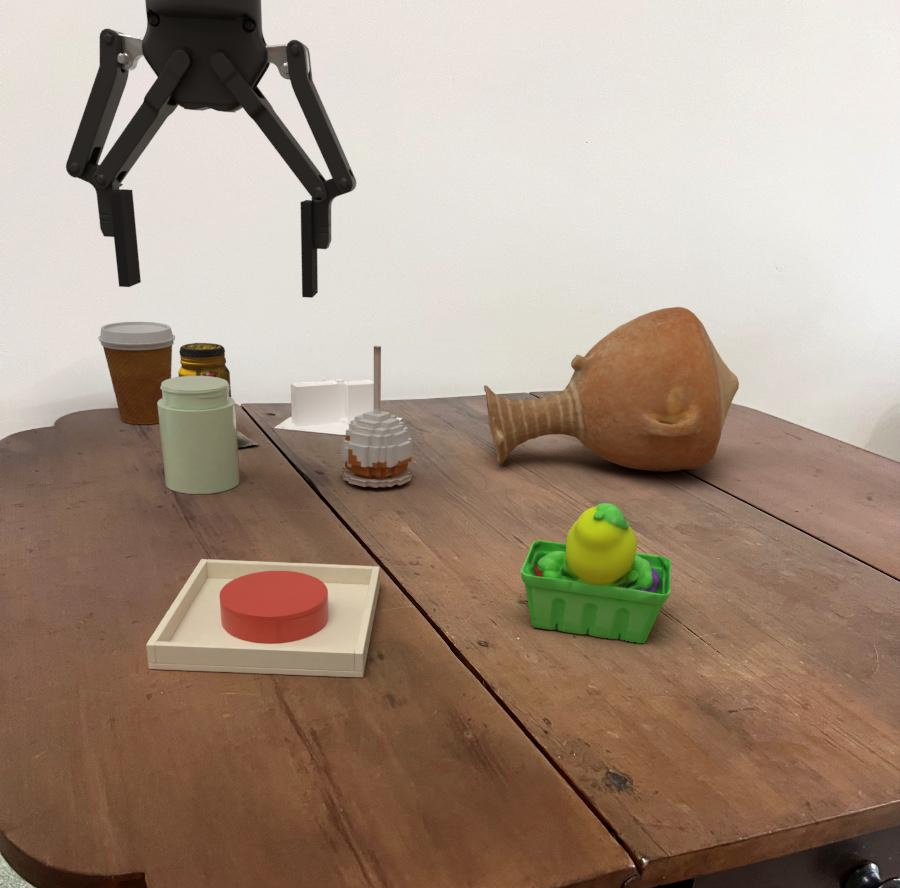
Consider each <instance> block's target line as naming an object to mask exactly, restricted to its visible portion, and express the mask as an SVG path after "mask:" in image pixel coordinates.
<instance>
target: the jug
mask: <svg viewBox="0 0 900 888" xmlns="http://www.w3.org/2000/svg"><path fill="white" fill-rule="evenodd" d="M570 366H571V368H572V369H573V370H574V371H573V373H572V375H571V376H570V377H571V378H570V380H569V382H568V383H567V385H566V386H565V388H564V389H563V390H561V391H559V392H557V393H556V394H552V395H547V396H544V397H540V398H533V399H516V398H506V397H503V396H501V395H498V394H496V393H495V392H494V391H493V390H492V389H490V387H489V386H488V385H485V384H484V385H483V390H484V393H485V400H486V408H487V424H488V426H489V430H490V434H491V437H492V440H493V445H494V448H495V452H496V454H497V458H496V459H497V463H498V464H499V466H502V465H503V464H504V462H506V461H505V460H506V459H507V458H508V456H509V455H510V454H511V453H512V452H513V451H514V450H515V449H516V448H518V446H520V445H521V444H524V443H526V442H527V441H529V440H533V439H537V438H539V437H543V436H549V435H565V436H569V437H574V438H576V439H577V440H578V441H579V442H580V443H581V444H582V446H584V447H585V448H586V449H588V450H589V451H590V452H592V453H594V454H595V455H597V456H598V457H599V458H601V459H603V460H605V461H607V462H610V463H613V464H615V465H618V466H621V467H624V468H628V469H633V470H639V471H640V470H641V471H649V472H662V473H663V472H664V473H667V472H668V473H669V472H675V471H676V472H677V471H683V470H695V469H698V468H699V467H700V468H701V467H702V466H705V465H708V464H709V463H710V462H711V461H713V459H714V457H715V455H716V453H717V451H718V447H719V444H720V440H721V436H722V432H723V429H724V425H725V421H726V419H727V416H728V413H729V410H730V408H731V406H732V403H733V400H734V397H735V396H736V395H737V392H738V390H739V386H740V383H739V379H738V376H737V375H736V374H735V373H734V371H732V370H731V369H730V368H729V367H728V365H727V364H726V363H725V362H724V360H723V359H722V357H721V356H720V354H719V352H718V351H717V349H716V347H715V345H714V343H713V341H712V340H711V338H710V335H709V333H708V331H707V330H706V327H705V326H704V324H703V322H702V321H701V320H700V318H699V317H698V316H697V315H696V313H694V312H693V311H691V310H690V309H688V308H686V307H682V306H674V307H665V308H660V309H656V310H653V311H649V312H647V313H645V314H644V313H643V314H642V315H639V316H637V317H635V318H633V319H631V320H629V321H627V322H626V323H622V324H621V325H619V326H618V327H616V328H615V329H613V330H612V331H610V332H609V333H608V334H606V335H605V336H604V337H602V338H601V339H599V341H597V342H596V343H595V344H594V346H592V347H591V348H590V349H589V350H588V351H587V353H586V354H585V355H584V356H582V355H581V354H576V355H575V356H574V357H573V359H572V360H571V363H570Z"/></svg>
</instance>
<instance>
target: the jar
mask: <svg viewBox="0 0 900 888" xmlns="http://www.w3.org/2000/svg"><path fill="white" fill-rule="evenodd" d="M160 388H161V389H162V397H163V398H162V399H160V400H159V401H158V402H157V406H158V417H159V423H158V425H159V436H160V445H161V457H162V466H163V476H164V485H165V487H166V488H167V489H169V490H170V491H173V492H176V493H181V494H187V495H209V494H218V493H222V492H227V491H230V490H232V489H234V488H236V487H237V486H238V485H239V484H240V481H241V477H240V461H239V447H238V443H237V431H238V430H237V413H236V400H235V399H234V398H233V397H232V396H231V397H229V390H230V389H229V384H228V382H227V381H226V380H224V379H221V378H217V377H211V376H182V377H179V376H175V377H171V378H170V379H167V380H165V381H163V382H162V383H161V387H160Z"/></svg>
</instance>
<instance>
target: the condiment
mask: <svg viewBox="0 0 900 888" xmlns="http://www.w3.org/2000/svg"><path fill="white" fill-rule="evenodd" d="M178 352H179V357H180V361H179V363H180V365H181V366H180V368H179V369H178V377H182V376H211V377H217V378H221V379H224V380H226V381H227V382H228V384H229V389H230V390H229V397H231V398H232V389H231V388H232V387H231V374H230V373H231V371H230V370H229V368H228V366H227V365H226V364H227V359H226V357H225V356H226V350H225V347H224V346H223V345H221V344H219V343H214V342H213V343H211V342H192V343H187V344H183V345H181V346H180V348H179V351H178ZM237 443H238V448H246V447H249V446H256V445H259V442H255V441H254V440H253V439H250V437H247V436H246V435H245V434H243V433H242V432H240V430H237Z"/></svg>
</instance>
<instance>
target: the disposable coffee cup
mask: <svg viewBox="0 0 900 888" xmlns="http://www.w3.org/2000/svg"><path fill="white" fill-rule="evenodd" d="M171 327H172V326H170V325H169V324H167V323H161V322H154V321H123V322H122V321H121V322H114V323H113V322H111V323H107V324H104V325H102V326H100V335H99V336H98V337H97V339H98V341H99V342H100V345H101V347H102V348H103V351H104V355H105V356H104V357H105V360H106V363H107V368H108V371H109V376H110V381H111V384H112V388H113V392H114V395H115V400H116V404H117V405H116V406H117V407H118V412H119V417H120V420H121V421H122V422H123V423H126V424H132V425H155V424H159V417H158V406H157V402H158V401H159V400H160V399H162V398H163V397H162V389H161V388H160V387H161V383H162V382H163V381H165V380H167V379H170V378H172V361H173V345H174V343H175V342H174V341H175V339H176V335H175V334H173V331H172V328H171Z"/></svg>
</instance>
